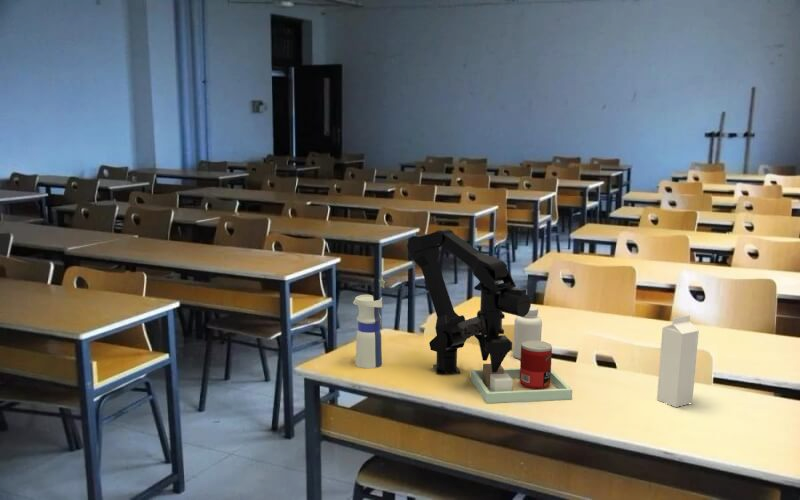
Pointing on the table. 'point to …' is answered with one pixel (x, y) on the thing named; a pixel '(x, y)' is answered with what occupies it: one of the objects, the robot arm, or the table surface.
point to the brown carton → (487, 371)
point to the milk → (677, 362)
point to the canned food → (535, 364)
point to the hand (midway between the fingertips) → (489, 366)
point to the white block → (500, 382)
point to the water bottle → (369, 331)
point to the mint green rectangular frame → (521, 396)
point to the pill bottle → (526, 330)
